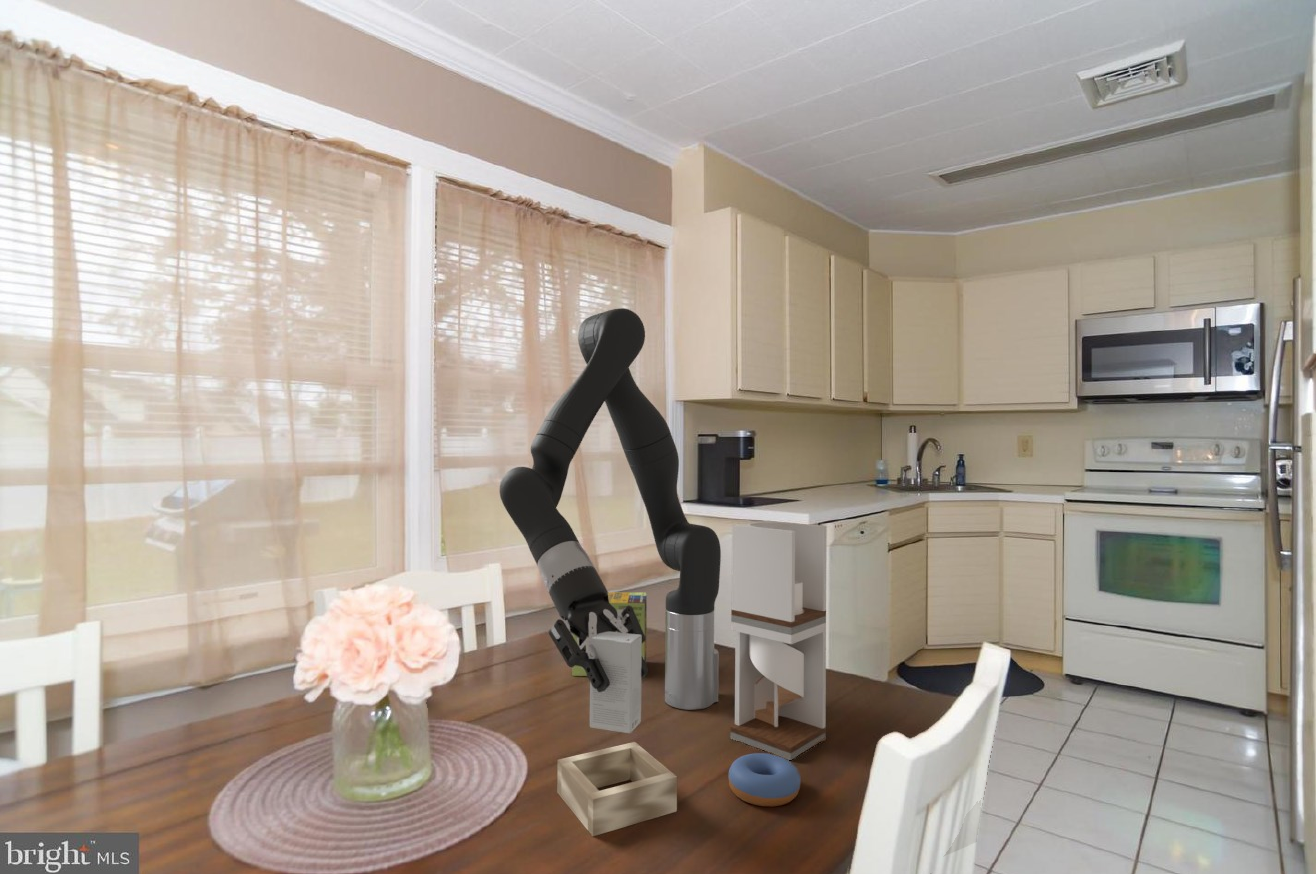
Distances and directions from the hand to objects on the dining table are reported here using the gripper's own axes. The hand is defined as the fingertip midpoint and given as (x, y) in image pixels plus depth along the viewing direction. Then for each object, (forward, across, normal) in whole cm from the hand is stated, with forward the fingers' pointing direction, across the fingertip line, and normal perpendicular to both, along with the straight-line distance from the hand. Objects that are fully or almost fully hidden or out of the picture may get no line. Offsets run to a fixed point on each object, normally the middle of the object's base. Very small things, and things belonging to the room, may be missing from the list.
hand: (624, 682), depth 90 cm
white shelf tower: (+13, +32, +10) cm, 36 cm away
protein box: (-19, +35, +43) cm, 59 cm away
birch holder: (+11, 0, +13) cm, 16 cm away
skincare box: (+3, 0, +6) cm, 7 cm away
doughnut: (+19, +17, +4) cm, 26 cm away
